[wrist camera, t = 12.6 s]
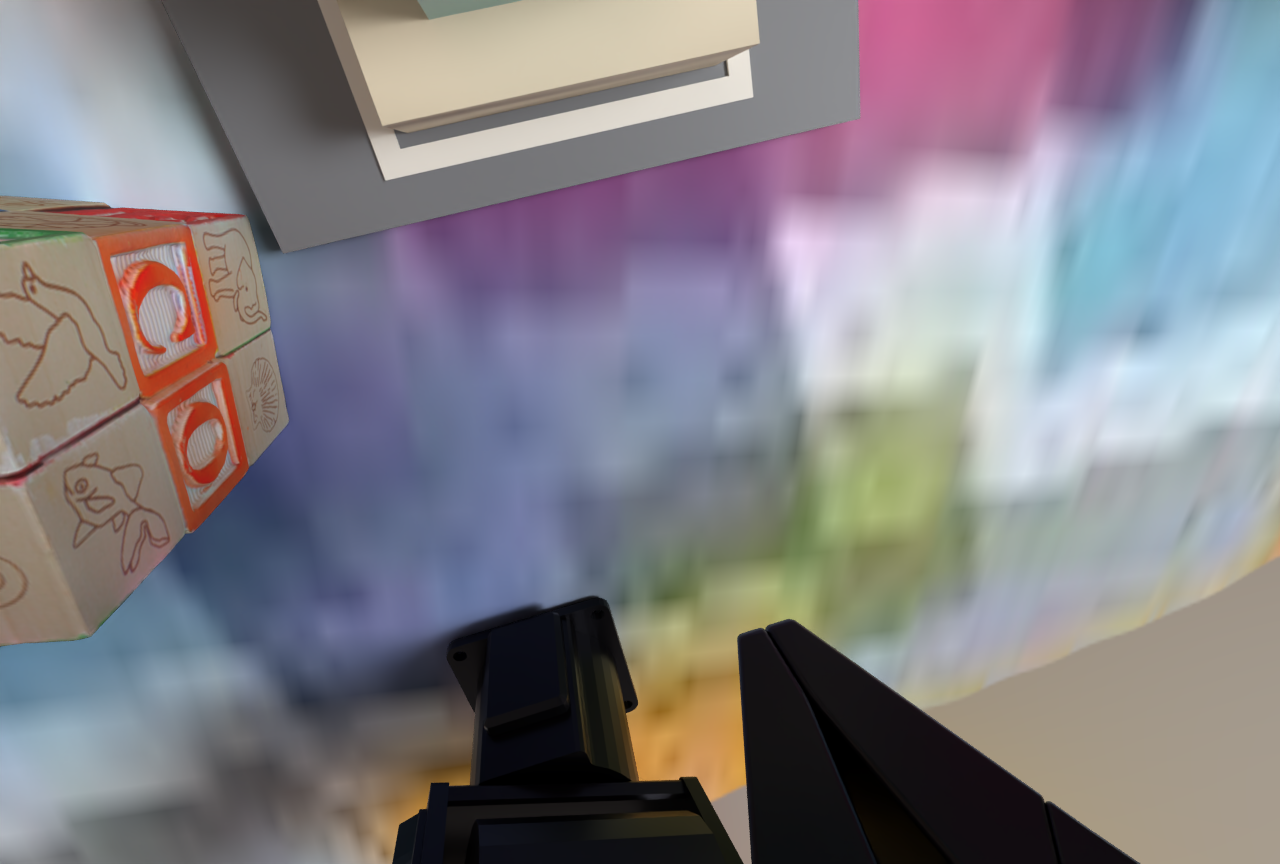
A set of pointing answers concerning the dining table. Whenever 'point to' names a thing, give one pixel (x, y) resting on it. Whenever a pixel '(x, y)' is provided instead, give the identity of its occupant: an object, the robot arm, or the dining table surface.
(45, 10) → the dining table surface
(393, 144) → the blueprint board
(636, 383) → the dining table surface
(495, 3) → the teal cube
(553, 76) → the maple slab
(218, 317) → the stack of blocks
